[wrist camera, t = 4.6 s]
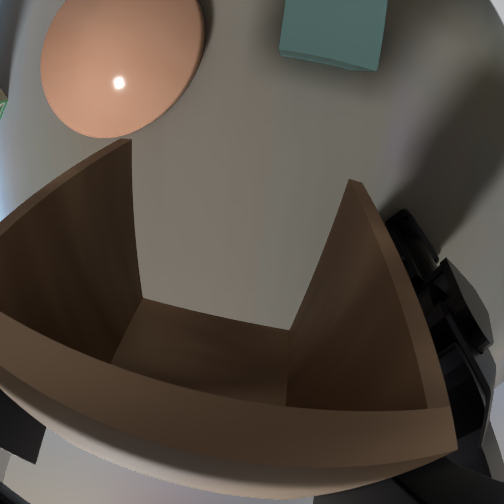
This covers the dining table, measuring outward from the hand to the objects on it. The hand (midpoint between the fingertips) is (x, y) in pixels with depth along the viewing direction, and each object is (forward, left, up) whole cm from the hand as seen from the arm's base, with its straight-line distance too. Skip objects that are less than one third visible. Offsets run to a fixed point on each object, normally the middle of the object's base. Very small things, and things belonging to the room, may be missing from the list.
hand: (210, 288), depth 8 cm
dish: (+13, 0, -12) cm, 18 cm away
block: (+3, -9, -12) cm, 15 cm away
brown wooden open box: (0, 0, -2) cm, 2 cm away
